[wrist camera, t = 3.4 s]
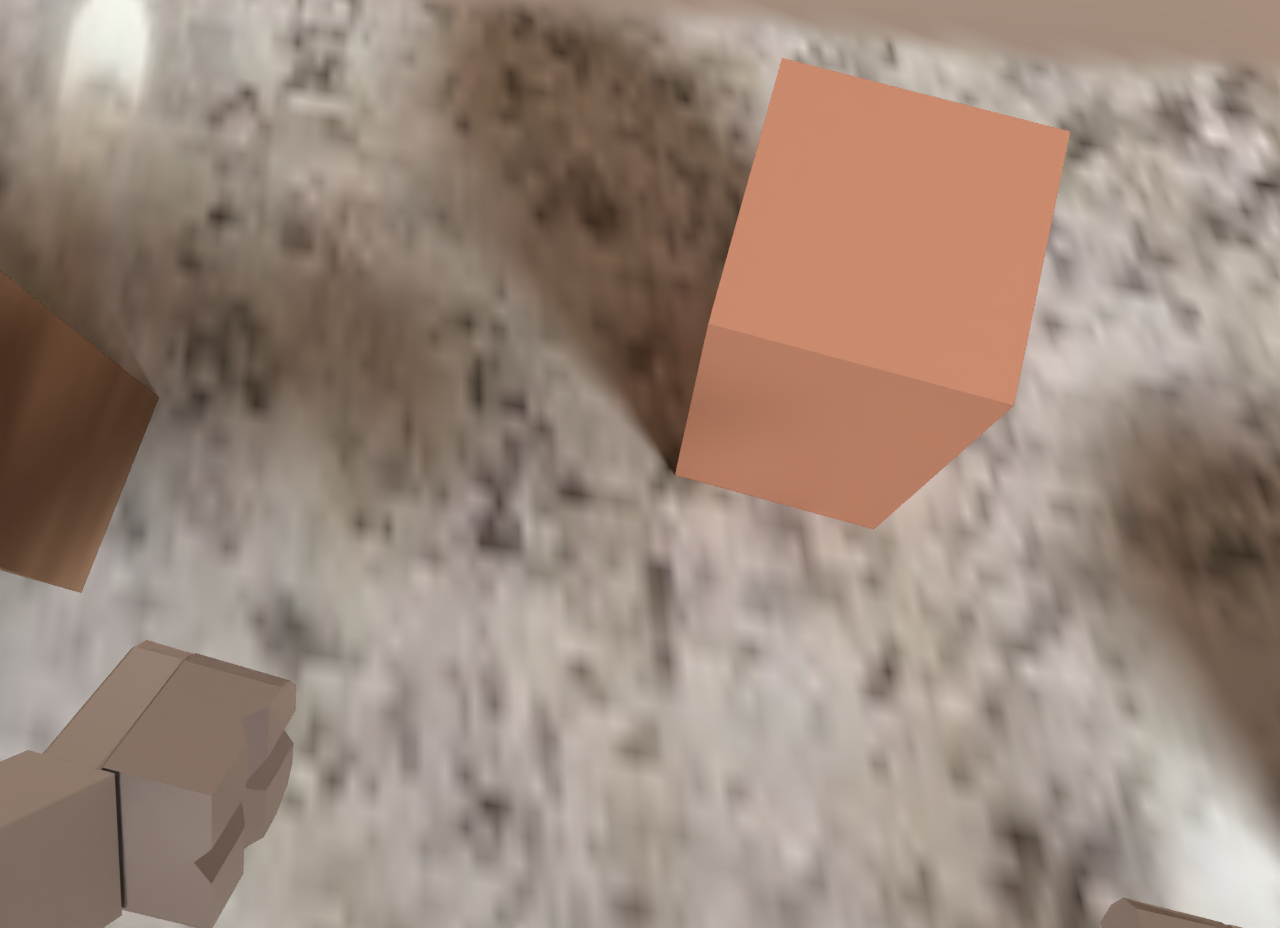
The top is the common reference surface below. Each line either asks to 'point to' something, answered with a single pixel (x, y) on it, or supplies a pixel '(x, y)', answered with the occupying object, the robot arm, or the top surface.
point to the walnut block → (60, 441)
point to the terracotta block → (870, 294)
